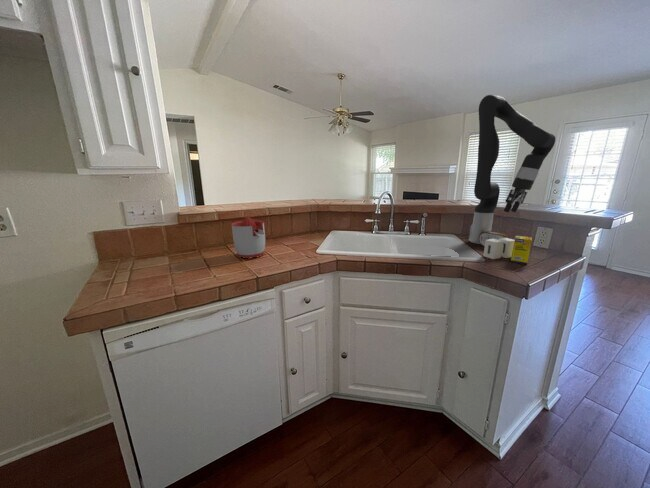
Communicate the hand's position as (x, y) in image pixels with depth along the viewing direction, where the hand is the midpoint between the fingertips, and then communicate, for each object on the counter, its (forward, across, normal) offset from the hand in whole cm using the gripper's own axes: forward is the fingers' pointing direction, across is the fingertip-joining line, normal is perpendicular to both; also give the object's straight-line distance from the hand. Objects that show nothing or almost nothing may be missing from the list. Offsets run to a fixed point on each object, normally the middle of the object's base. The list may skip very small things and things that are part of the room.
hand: (509, 211), depth 124 cm
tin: (+20, -3, -1) cm, 21 cm away
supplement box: (+18, +11, +15) cm, 26 cm away
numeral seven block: (+19, +7, +8) cm, 22 cm away
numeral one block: (+20, +13, +6) cm, 25 cm away
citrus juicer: (+43, +103, -63) cm, 128 cm away
